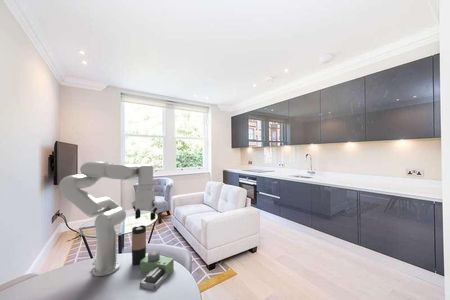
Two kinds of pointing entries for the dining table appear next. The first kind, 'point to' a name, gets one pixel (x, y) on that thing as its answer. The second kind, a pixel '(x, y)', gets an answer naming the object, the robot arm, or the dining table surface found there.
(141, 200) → the robot arm
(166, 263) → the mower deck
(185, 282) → the dining table surface
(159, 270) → the ridged grey block
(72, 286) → the dining table surface
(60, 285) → the dining table surface
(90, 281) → the dining table surface
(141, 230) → the travel mug
